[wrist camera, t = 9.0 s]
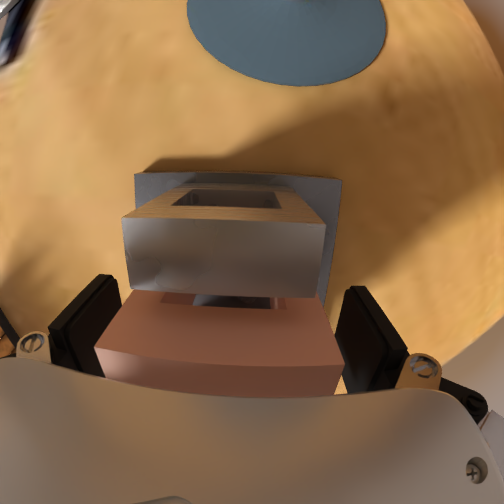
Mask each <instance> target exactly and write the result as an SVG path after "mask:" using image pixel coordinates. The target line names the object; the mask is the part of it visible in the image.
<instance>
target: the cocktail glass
mask: <svg viewBox="0 0 504 504" xmlns="http://www.w3.org/2000/svg"><path fill="white" fill-rule="evenodd" d="M187 16H188V20H189V24H190V27H191V29H192V31H193V33H194V35H195V37H196V38H197V40H198V41H199V42H200V43H201V45H202V46H203V47H204V48H205V49H206V50H207V51H208V52H209V53H210V54H211V55H212V56H214V57H215V58H216V59H217V60H218V61H220V62H221V63H223V64H225V65H226V66H228V67H229V68H231V69H233V70H235V71H237V72H239V73H242V74H244V75H246V76H248V77H252V78H255V79H258V80H261V81H264V82H269V83H274V84H279V85H288V86H318V85H324V84H330V83H334V82H337V81H340V80H343V79H347V78H349V77H351V76H352V75H354V74H356V73H358V72H360V71H361V70H363V69H364V68H365V67H367V66H368V65H369V64H370V63H371V62H372V61H373V60H374V58H375V57H376V56H377V55H378V53H379V51H380V49H381V47H382V45H383V42H384V38H385V31H386V22H385V16H384V12H383V9H382V6H381V4H380V1H379V0H188V2H187Z"/></svg>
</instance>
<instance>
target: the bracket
mask: <svg viewBox="0 0 504 504" xmlns="http://www.w3.org/2000/svg"><path fill="white" fill-rule="evenodd" d="M134 180H135V203H136V209H135V210H134V211H132V212H130V213H129V214H127V215H125V216H124V217H122V218H121V220H122V230H123V240H124V248H125V256H126V263H127V270H128V277H129V283H130V289H137V290H149V291H161V292H175V293H189V294H195V299H194V302H193V305H195V306H211V307H228V308H251V309H271V306H270V297H278V298H315V296H316V291H317V294H318V296H319V298H320V301H321V303H322V306H323V307H324V302H325V297H326V292H327V286H328V281H329V275H330V269H331V263H332V257H333V250H334V244H335V237H336V230H337V222H338V214H339V206H340V197H341V188H342V180H340V179H337V178H331V177H321V176H310V175H298V174H284V173H267V172H245V171H154V172H140V173H136V174H134Z"/></svg>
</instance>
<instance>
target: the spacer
mask: <svg viewBox="0 0 504 504" xmlns="http://www.w3.org/2000/svg"><path fill="white" fill-rule="evenodd" d="M194 299H195V294H189V293H175V292H161V291H149V290H137V289H134V290H133V292H132V293H131V294H130V296H129V297H128V298H127V300H126V301H125V303H124V304H123V305H122V307H121V308H120V309H119V311H118V312H117V314H116V315H115V317H114V318H113V319H112V321H111V322H110V324H109V325H108V327H107V328H106V330H105V331H104V332H103V334H102V335H101V337H100V338H99V340H98V341H97V343H96V344H95V346H94V349H95V351H96V354H97V357H98V359H99V362H100V364H101V367H102V369H103V372H104V374H105V377H106V378H107V379H111V380H116V381H121V382H126V383H131V384H136V385H142V386H147V387H154V388H160V389H167V390H174V391H182V392H191V393H200V394H212V395H225V396H246V397H302V396H321V395H334V392H335V390H336V387H337V385H338V382H339V379H340V377H341V374H342V371H343V368H344V366H345V363H344V360H343V357H342V355H341V352H340V349H339V347H338V344H337V341H336V339H335V336H334V334H333V331H332V329H331V326H330V323H329V321H328V318H327V316H326V313H325V311H324V308H323V306H322V303H321V301H320V298H319V296H318V294H317V291H316V296H315V298H278V297H270V306H271V309H251V308H228V307H211V306H195V305H193V302H194Z"/></svg>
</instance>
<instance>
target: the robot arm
mask: <svg viewBox="0 0 504 504" xmlns="http://www.w3.org/2000/svg"><path fill="white" fill-rule="evenodd" d="M18 1H19V0H0V19H1V18H2V17H3V16H4V15H5V14H6V13H7V12H8V11H9V10H10V9H11V8H12V7H13V6H14V5H15V4H16V3H17V2H18ZM121 307H122V303H121V298H120V293H119V288H118V283H117V280H116V279H114V277H113V276H112V275H105V274H99V275H98V276H97V277H96V278H95V279H93V280H92V281H91V282H90V283H89V284H88V285H87V286H86V287H85V288H84V289H83V290H82V291H81V292H80V293H79V294H78V295H77V297H76V298H75V299H74V300H73V301H72V302H71V303H70V304H69V305H68V306H67V307H66V308H65V309H64V310H63V311H62V312H61V313H60V314H59V315H58V317H57V318H56V319H55V320H54V321H53V322H52V323H51V324H50V325H49V326H48V329H49V332H50V334H49V335H48V336H47V335H46V334H45V333H44V332H41V331H34V332H30V333H27V334H26V335H24V336H23V337H22V338H21V339H20V340H19V341H18V343H17V350H16V353H13V354H10V355H7V356H4V357H1V358H0V504H504V418H503V417H502V416H500V415H499V414H497V413H496V412H495V411H493V410H491V412H488V405H487V402H486V400H485V399H484V397H483V396H482V395H481V394H479V393H478V392H476V391H473V390H471V389H468V388H466V387H463V386H461V385H459V384H456V383H454V382H452V381H449V380H447V379H444V378H442V377H441V375H442V368H441V365H440V364H439V362H438V361H437V360H436V359H434V358H433V357H431V356H429V355H427V354H423V353H415V354H412V355H410V354H409V353H408V351H407V349H408V348H407V346H406V345H405V343H404V342H403V340H402V338H401V337H400V335H399V334H398V332H397V331H396V329H395V328H394V326H393V325H392V323H391V322H390V321H389V319H388V318H387V316H386V315H385V313H384V312H383V310H382V309H381V307H380V306H379V305H378V303H377V302H376V300H375V299H374V298H373V296H372V295H371V293H370V292H369V291H368V289H367V288H366V287H365V286H351V287H350V288H349V289H347V290H346V291H345V294H344V299H343V303H342V308H341V312H340V316H339V320H338V324H337V328H336V332H335V339H336V341H337V344H338V347H339V349H340V352H341V355H342V357H343V360H344V363H345V366H344V368H343V371H342V377H343V380H344V383H345V386H346V389H347V394H336V395H321V396H302V397H246V396H225V395H212V394H200V393H191V392H182V391H174V390H167V389H160V388H154V387H147V386H142V385H136V384H131V383H126V382H121V381H116V380H111V379H107V378H106V377H105V374H104V372H103V369H102V367H101V364H100V362H99V359H98V357H97V354H96V351H95V349H94V346H95V344H96V343H97V341H98V340H99V338H100V337H101V335H102V334H103V332H104V331H105V330H106V328H107V327H108V325H109V324H110V322H111V321H112V319H113V318H114V317H115V315H116V314H117V312H118V311H119V309H120V308H121Z"/></svg>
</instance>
